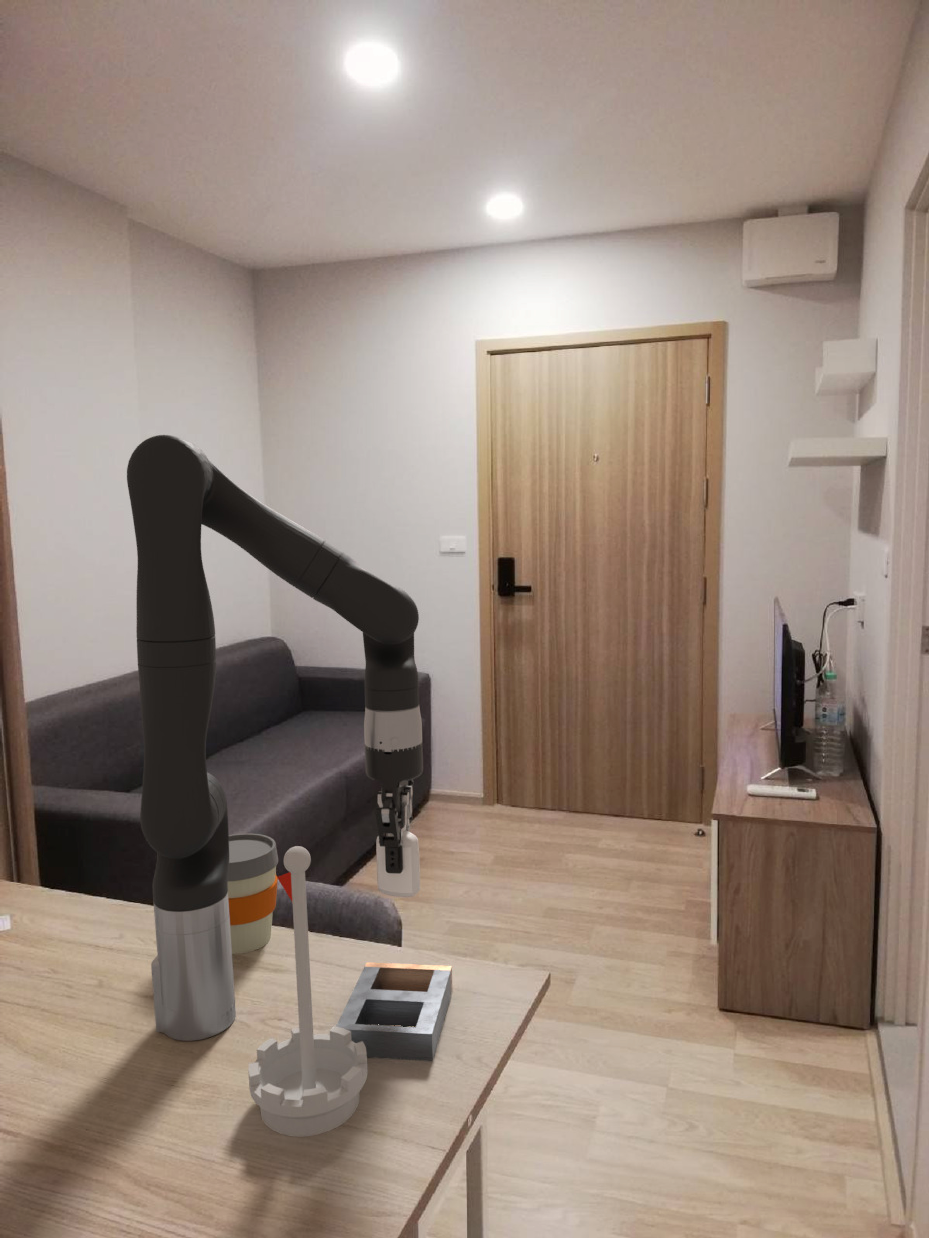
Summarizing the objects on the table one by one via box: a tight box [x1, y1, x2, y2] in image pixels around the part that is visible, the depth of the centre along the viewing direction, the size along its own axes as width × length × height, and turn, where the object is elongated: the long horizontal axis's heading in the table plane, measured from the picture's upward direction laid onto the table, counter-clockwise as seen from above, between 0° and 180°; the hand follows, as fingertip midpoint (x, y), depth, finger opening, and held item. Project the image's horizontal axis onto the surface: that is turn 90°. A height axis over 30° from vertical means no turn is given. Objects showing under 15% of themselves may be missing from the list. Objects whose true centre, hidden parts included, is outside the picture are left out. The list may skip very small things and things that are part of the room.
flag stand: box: [247, 845, 368, 1137], centre depth 99 cm, size 13×13×30 cm
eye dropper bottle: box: [375, 818, 421, 898], centre depth 118 cm, size 4×6×12 cm
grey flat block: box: [335, 961, 454, 1062], centre depth 116 cm, size 12×16×4 cm
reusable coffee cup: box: [228, 833, 279, 955], centre depth 138 cm, size 13×13×15 cm
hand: (397, 865), depth 118 cm, fingers closed on eye dropper bottle, 3 cm apart
